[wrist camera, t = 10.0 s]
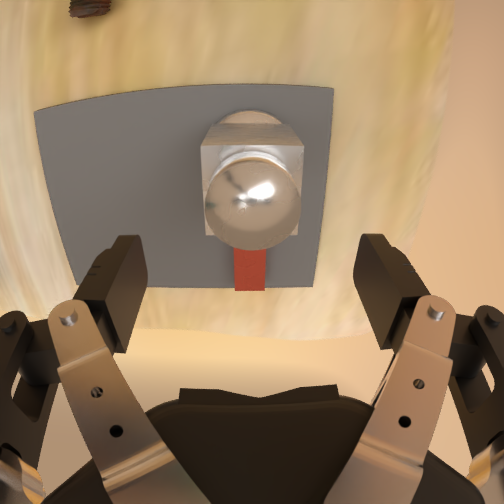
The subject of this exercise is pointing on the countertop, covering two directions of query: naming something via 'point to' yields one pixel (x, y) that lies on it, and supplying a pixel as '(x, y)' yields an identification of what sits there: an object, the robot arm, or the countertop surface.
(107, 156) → the tool mat
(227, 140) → the metal block with knob
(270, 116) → the ratchet
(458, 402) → the robot arm
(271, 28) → the countertop surface
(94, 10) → the bolt
